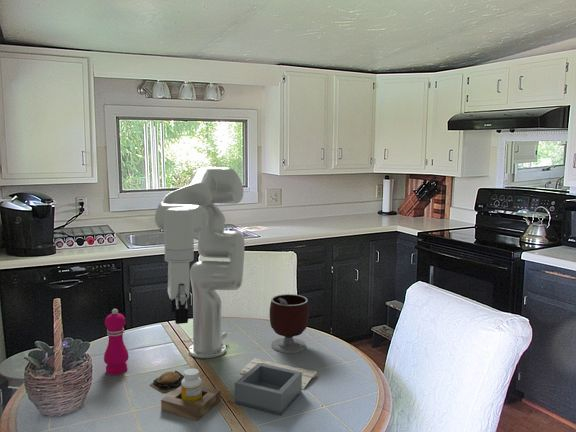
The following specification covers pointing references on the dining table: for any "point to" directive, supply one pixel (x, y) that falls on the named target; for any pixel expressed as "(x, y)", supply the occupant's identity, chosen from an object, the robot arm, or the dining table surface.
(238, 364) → the dining table surface
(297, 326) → the mate gourd
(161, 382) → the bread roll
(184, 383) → the supplement bottle
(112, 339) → the pepper mill
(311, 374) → the newspaper
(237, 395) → the bin
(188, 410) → the socket collar
